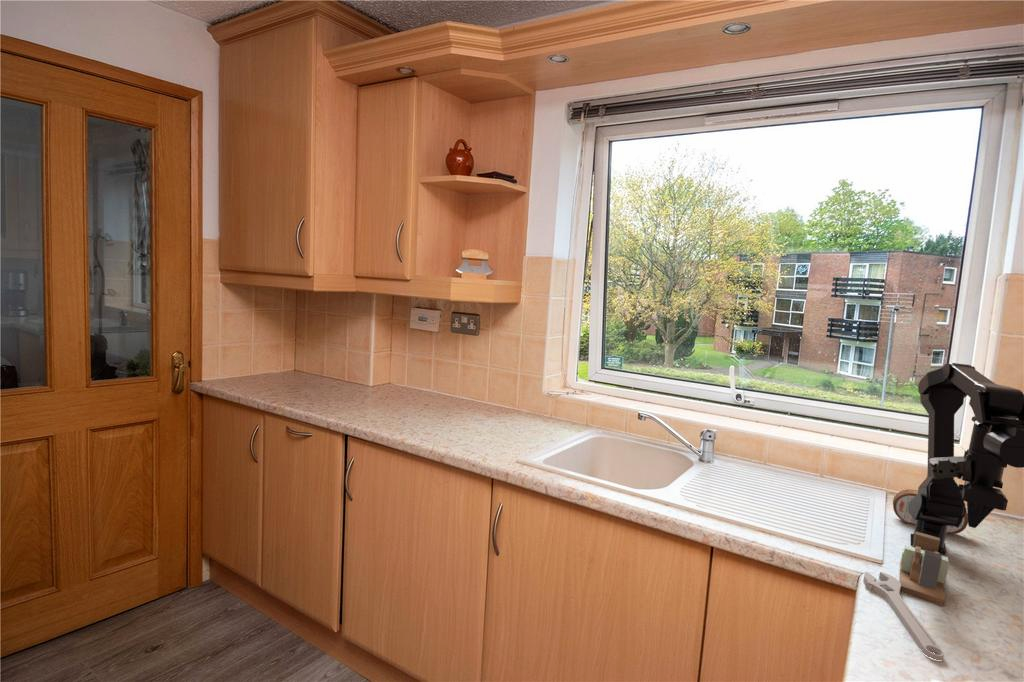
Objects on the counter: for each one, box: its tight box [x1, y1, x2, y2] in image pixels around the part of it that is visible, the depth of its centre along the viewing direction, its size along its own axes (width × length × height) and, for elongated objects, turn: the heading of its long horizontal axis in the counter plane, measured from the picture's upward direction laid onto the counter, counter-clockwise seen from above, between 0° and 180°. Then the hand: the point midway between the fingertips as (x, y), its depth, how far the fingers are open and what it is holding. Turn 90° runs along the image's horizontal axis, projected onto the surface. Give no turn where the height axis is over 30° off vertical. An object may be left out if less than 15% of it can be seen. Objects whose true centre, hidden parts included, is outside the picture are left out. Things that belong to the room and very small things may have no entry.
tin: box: [892, 488, 968, 535], centre depth 140 cm, size 15×3×8 cm, turn 56°
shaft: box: [919, 550, 943, 590], centre depth 106 cm, size 11×2×6 cm, turn 145°
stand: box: [898, 532, 947, 607], centre depth 113 cm, size 14×7×8 cm, turn 145°
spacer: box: [900, 544, 950, 584], centre depth 114 cm, size 2×7×5 cm, turn 55°
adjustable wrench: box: [862, 571, 945, 661], centre depth 102 cm, size 25×6×2 cm, turn 162°
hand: (971, 526), depth 113 cm, fingers closed
